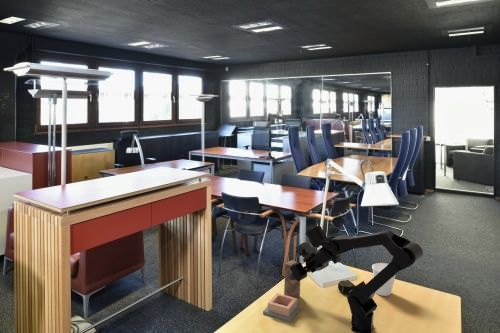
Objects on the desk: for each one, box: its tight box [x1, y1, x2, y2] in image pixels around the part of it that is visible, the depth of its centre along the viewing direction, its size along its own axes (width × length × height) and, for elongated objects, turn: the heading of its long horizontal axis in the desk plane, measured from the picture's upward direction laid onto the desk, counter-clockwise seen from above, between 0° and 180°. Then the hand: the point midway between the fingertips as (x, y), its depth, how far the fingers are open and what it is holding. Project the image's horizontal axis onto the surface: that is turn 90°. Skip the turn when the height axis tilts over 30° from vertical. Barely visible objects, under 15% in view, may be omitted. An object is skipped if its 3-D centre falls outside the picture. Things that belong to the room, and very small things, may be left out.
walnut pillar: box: [283, 259, 301, 299], centre depth 151 cm, size 4×4×14 cm
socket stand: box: [262, 292, 302, 323], centre depth 141 cm, size 11×11×4 cm
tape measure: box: [337, 279, 356, 295], centre depth 156 cm, size 7×7×4 cm
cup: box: [371, 262, 397, 297], centre depth 155 cm, size 10×10×11 cm
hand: (297, 275), depth 149 cm, fingers open, 9 cm apart
